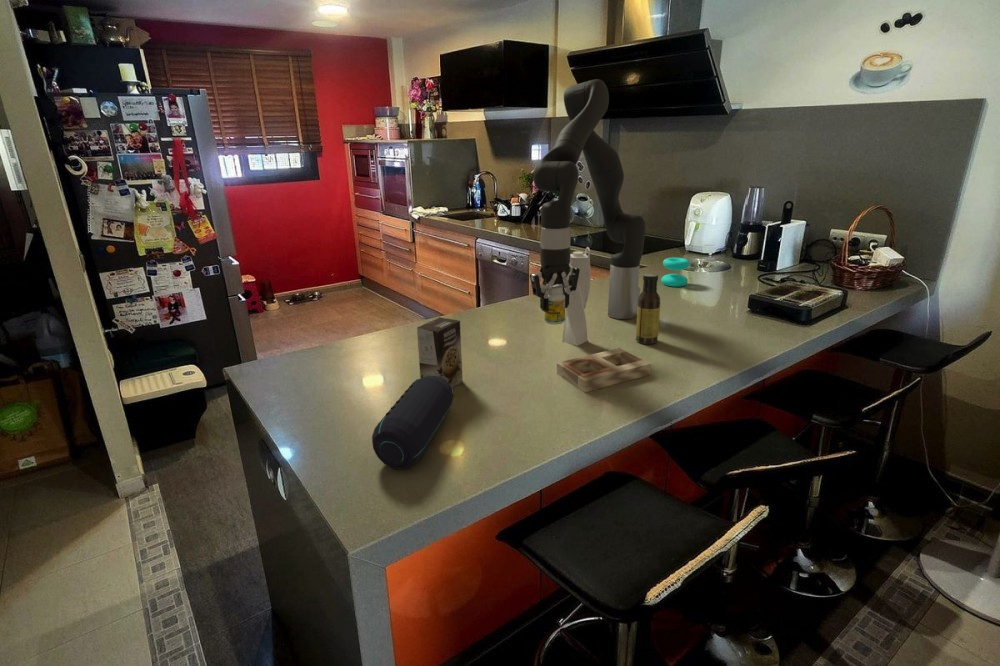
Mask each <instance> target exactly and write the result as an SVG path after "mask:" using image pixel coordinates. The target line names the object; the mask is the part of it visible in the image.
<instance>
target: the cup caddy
mask: <svg viewBox="0 0 1000 666" xmlns="http://www.w3.org/2000/svg"><path fill="white" fill-rule="evenodd" d="M618 364H621V365H618ZM650 373H651V363H650V362H648V361H646V360H645V359H642V358H640V357H638V356H636V355H634V354H632V353H630V352H629V351H626V350H624V349H622V348H620V347H617V348H614V349H609V350H605V351H601V352H597V353H592V354H589V355H584V356H579V357H576V358H571V359H567V360H563V361H559V362H556V375H558V376H559V377H561V378H562V379H564V380H565V381H567V382H568V383H570V384H571V385H573V386H574V387H575V388H577V389H579V390H580V391H582V392H583V393H588V392H591V391H594V390H598V389H602V388H605V387H609V386H613V385H616V384H621V383H623V382H627V381H630V380H631V381H632V380H635V379H638V378H642V377H646V376H649V375H650Z"/></svg>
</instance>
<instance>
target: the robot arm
mask: <svg viewBox="0 0 1000 666" xmlns="http://www.w3.org/2000/svg"><path fill="white" fill-rule="evenodd" d="M609 103H610V94H609V90H608V87H607V85H606V83H605V82H604V81H603V80H602V79H600V78H599V79H598V78H596V79H590V80H588V81H587V80H586V81H584V82H580V83H577V84H574V85H570V86H568V87H567V88H566V89H565V90H564V92H563V104H564V108H565V111H566V115H567V118H568V119H569V122H568V123H567V124H566V125H565V126H564V127H563V128H562V130H561V131H560V132H559V134H558V135H557V137H556V139H555V142H554V145H553V146H552V148H551V149H550V150H549V151H548V152H547V153H546V154H545V155H543V157H542V158H541V159H539V161H538V163H537V165H536V166H535V168H534V171H533V183H534V186H535V189H538V191H540V192H546V193H547V192H549V193H550V192H552V193H555V192H556V193H559V192H560V196H559V198H558V199H557V200H552V201H547V202H545V203H543V204H542V206H541V208H540V209H541V215H540V216H541V217H540V219H541V221H540V222H541V227H540V234H539V235H540V236H539V237H540V239H539V242H540V243H539V253H540V255H539V256H540V258H539V259H540V260H539V262H540V269H539V272H538V271H537V272H536V273H533V272H532V273H530V274H529V279H530V280H529V281H530V283H531V284H530V285H531V290H532V294H533V296H535V297H538V298H539V307H540V309H541V311H542V312H544V313H545V312H548V298H547V297H548V295H549V292H550V290H552V287H553V286H554V285H561V286H562V287H563V291H562V293H563V294H564V295H565V309H566V308H567V307H568V305H569V294H570V292H572V291H575V290H576V288H577V282H578V277H579V272H580V269H579V268H576V267H573V266H572V267H570V266H569V263H570V254H571V236H572V235H571V228H570V227H571V224H570V223H571V207H572V203H573V198H574V194H575V191H576V188H577V184H578V181H579V174H580V173H579V169H578V166H577V165H576V164H578V162H579V159H580V157H581V154H582V153H583V155H584V158H585V162H586V165H587V169H588V172H589V174H590V178H591V181H592V183H593V186H594V188H595V191H596V194H597V195H596V196H597V198H598V201H599V204H600V208H601V211H602V212H601V213H602V217H603V221H604V222H603V223H604V226H605V230H606V233H607V236H608V238H609V240H611V241H612V242H615V243H620V244H623V249H622V251H621V252H618V253H614V254H612V255H611V257H610V263H609V264H610V268H609V282H608V283H609V284H608V285H609V286H608V300H607V301H608V302H607V316H608V317H610V318H612V319H613V318H614V319H617V320H628V319H629V320H630V319H635V318H636V317H637V308H638V298H639V296H640V294H641V287H640V286H639V279H640V267H641V259H642V257H643V252H644V245H645V237H646V229H647V228H646V221H645V219H644V217H642V216H641V215H639V214H632V213H624V210H622V206H621V203H620V200H619V199H620V192H621V190H622V188H623V184H624V178H625V176H624V175H625V173H624V170H623V169H624V168H623V165H622V163H621V158H620V156H619V154H618V152H617V151H616V149H614V148H613V147H612V146H611V144H609V143H608V142H607V141H606V140H604V139H603V138H602V137H601V136H600V135H598V134H597V132H596V131H595V129H596V127H597V126H598V124H599V123H600V121H601V120H602V119H603V117H604V116H605V114H606V112H607V110H608V108H609ZM568 274H569V280H567V276H568ZM541 278H542V279H541Z"/></svg>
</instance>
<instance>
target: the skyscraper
mask: <svg viewBox="0 0 1000 666" xmlns="http://www.w3.org/2000/svg"><path fill="white" fill-rule="evenodd" d="M587 251H588V252H587ZM587 253H588V254H587ZM590 257H591V249H590V247H588V246H587V247H586V248H585V250H584V252H583V251H573V252H572V253H570V263H569V266H570V267H572V266H573V267H576V268H579V269H580V272H579V277H578V282H577V288H576V290H575V291H572V292H570V294H569V305H568V307H567V308H565V322H564V323H563V324H564V325H563V332H562V337H561V338H562V339H561V341H562V342H564V343H565V344H566V343H567V344H570V345H572V346H573V345H574V346H577V347H578V346H580V345H582V344H584V343H586V342H589V340H588V327H587V320H586V311H585V309H586V307H587V303H588V299H589V295H590V290H591V289H590V288H591V261H590V259H591V258H590ZM567 280H569V274H568V276H567Z"/></svg>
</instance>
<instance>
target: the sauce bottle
mask: <svg viewBox="0 0 1000 666" xmlns="http://www.w3.org/2000/svg"><path fill="white" fill-rule="evenodd" d="M642 279H643V280H642V281H643V283H642V284H643V285H642V291H641V292H640V296H639V298H638V308H637V316H636V328H635V329H636V330H635V334H636V335H635V336H636V337H635V340H636V342H638V343H639V344H643V345H652V344H655V343H657V342H658V337H659V328H660V316H661V314H660V313H661V297H660V295H659V293H658V291H657V289H658V281H659V274H657V273H652V272H649V273H643V275H642Z"/></svg>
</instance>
